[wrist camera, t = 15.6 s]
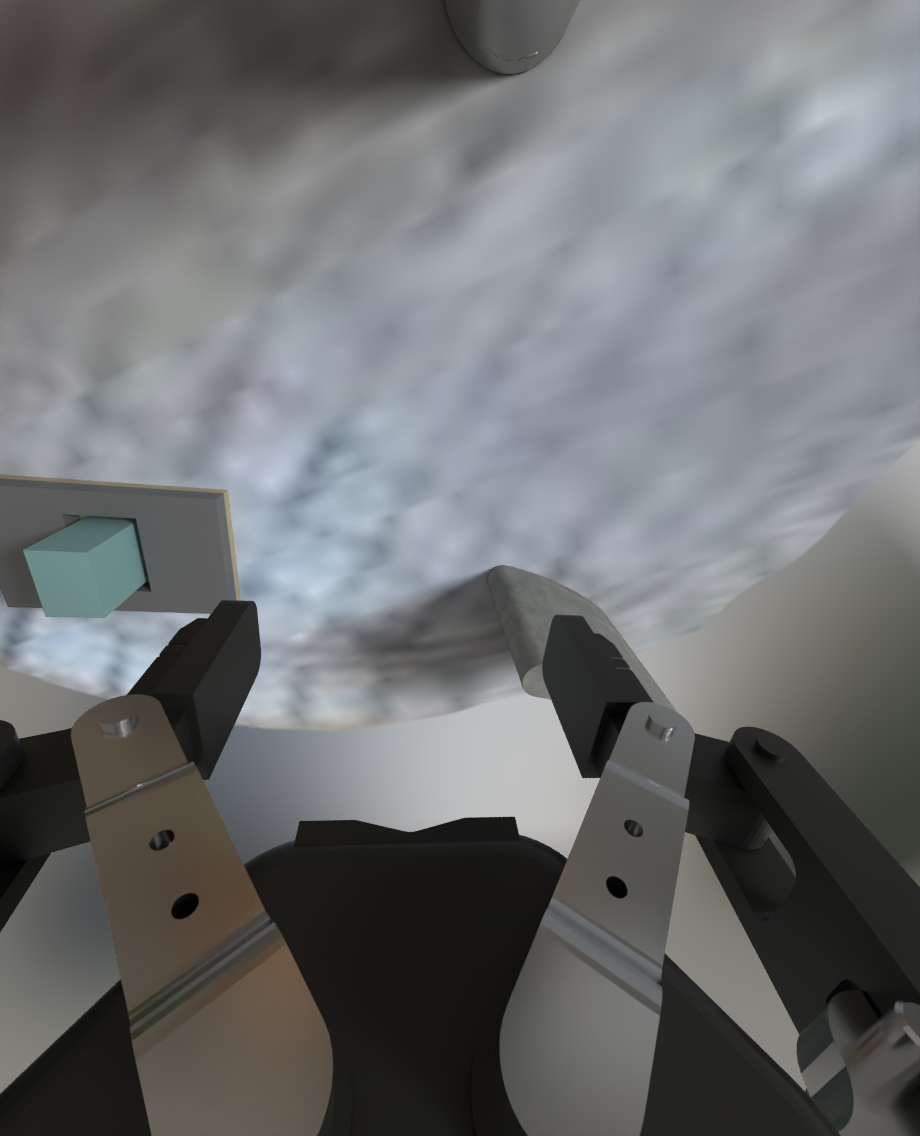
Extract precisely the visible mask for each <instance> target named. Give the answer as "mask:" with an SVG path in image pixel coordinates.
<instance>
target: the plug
mask: <svg viewBox="0 0 920 1136" xmlns="http://www.w3.org/2000/svg"><path fill="white" fill-rule="evenodd" d="M23 552H24V555H25V557H26V560H27V563H28V566H29V569H30V572H31V575H32V578H33V581H34V584H35V587H36V589H37V592H38V595H39V598H40V601H41V604H42V607H43V610H44V613H45V616H46V617H85V618H106V617H107V616H108V615H109V614H110V613H111V612H112V611H114V610H115V609H116V608H117V607H118V606H119V605H120V604H121V603H123V602H124V601H125V600H126V599H127V598H128V597H129V596H130V595H132V594H133V593H134V592H135V591H136V590H137V589H138V588H139V587H141V586H142V585H143V584H144V583H145V582H146V581H147V580H148V579H149V578H148V573H147V569H146V564H145V559H144V554H143V550H142V545H141V540H140V535H139V531H138V526H137V521H136V518H119V517H103V516H87V517H85V518H83V519H81V520H79V521H77V522H76V523H74V524H72V525H70V526H68V527H66V528H64V529H62V530H60V531H58V532H56V533H55V534H53V535H51V536H49V537H47V538H45V539H43V540H41V541H39V542H37V543H36V544H34V545H32V546H30V547H28V548H26V549H24V550H23Z"/></svg>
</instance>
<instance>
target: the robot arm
mask: <svg viewBox="0 0 920 1136" xmlns="http://www.w3.org/2000/svg"><path fill="white" fill-rule="evenodd" d="M444 1H445V5H446V9H447V14H448V17H449V20H450V22H451V25H452V27H453V30H454V32H455V34H456V36H457V38H458V39H459V41H460V42H461V44H462V46H463V47H464V49H465V50H466V51H467V52H468V53H469V54H470V55H471V56H472V58H473V59H474V60H475V61H477V62H478V63H480V64H481V65H483V66H484V67H486V68H487V69H489V70H492V71H495V72H498V73H503V74H516V73H520V72H524V71H528V70H529V69H531V68H533V67H535V66H536V65H538V64H540V63H541V62H542V61H543V60H544V59H545V58H546V57H547V56H548V55H549V54H551V52H552V51H553V49H554V48H555V47H556V45H557V44H558V42H559V41H560V40H561V37H562V35H563V33H564V31H565V29H566V27H567V25H568V23H569V21H570V19H571V17H572V15H573V13H574V11H575V9H576V7H577V5H578V3H579V2H580V0H444ZM260 661H261V646H260V636H259V625H258V615H257V607H256V604H255V602H254V601H239V600H222V601H220V603H219V604H218V605H217V607H216V608H215V609H214V611H213V612H212V613H211V615H210V616H209V617H208V619H206V618H197V619H196V620H194V621H193V622H191V623H189V624H188V625H186V626H184V627H183V628H181V629H180V630H179V631H178V632H177V633H176V635H175V636H174V637H173V638H172V639H171V641H170V642H169V645H168V646H166V647H165V648H164V649H163V651H162V652H161V653H160V656H159V657H157V658H156V659H155V660H154V662H153V663H152V664H151V665H150V667H149V668H148V669H147V670H146V672H145V673H144V674H143V675H142V677H141V678H140V679H139V680H138V682H137V683H136V684H135V685H134V686H133V688H132V689H131V690H130V691H129V693H128V694H127V695H125V696H120V697H116V698H112V699H110V700H107V701H104V702H102V703H100V704H98V705H96V706H95V707H93V708H91V709H89V710H88V711H86V712H85V713H84V714H83V715H82V716H80V717H79V718H78V720H77V721H76V722H75V723H74V725H73V727H72V728H70V729H66V730H61V731H56V732H51V733H47V734H41V735H36V736H31V737H26V738H21V739H19V738H18V736H17V733H16V731H15V728H14V727H13V725H11V724H10V723H8V722H6V721H2V720H0V932H1V930H2V929H3V927H4V926H5V924H6V923H7V921H8V919H9V918H10V916H11V915H12V913H13V912H14V910H15V909H16V907H17V905H18V904H19V902H20V901H21V899H22V898H23V896H24V894H25V893H26V891H27V890H28V888H29V887H30V885H31V883H32V882H33V880H34V879H35V877H36V876H37V874H38V873H39V871H40V869H41V868H42V866H43V865H44V863H45V862H46V860H47V858H48V857H49V855H50V854H51V852H55V851H58V850H62V849H65V848H69V847H72V846H76V845H79V844H83V843H86V842H89V841H91V845H92V849H93V854H94V859H95V863H96V868H97V873H98V876H99V882H100V886H101V891H102V895H103V900H104V904H105V909H106V914H107V918H108V923H109V927H110V932H111V936H112V941H113V945H114V950H115V954H116V959H117V964H118V968H119V973H120V977H121V979H120V980H119V981H118V982H117V983H116V984H115V985H114V986H113V987H112V988H111V989H110V990H109V991H108V992H107V993H105V995H103V996H102V998H100V999H99V1000H98V1001H97V1002H96V1003H95V1004H94V1005H93V1006H92V1007H91V1008H90V1009H89V1010H88V1011H87V1012H86V1013H84V1014H83V1015H82V1016H81V1017H80V1018H79V1019H78V1020H77V1021H76V1022H75V1023H74V1024H73V1025H72V1026H71V1027H70V1028H69V1029H68V1030H67V1031H66V1032H65V1033H64V1034H62V1035H61V1036H60V1037H59V1038H58V1039H57V1040H56V1041H55V1042H54V1043H53V1044H52V1045H51V1046H50V1047H49V1048H48V1049H47V1050H46V1051H45V1052H44V1053H42V1054H41V1055H40V1056H39V1057H38V1058H37V1059H36V1060H35V1061H34V1062H33V1063H32V1064H31V1065H30V1066H29V1067H28V1068H27V1069H26V1070H25V1071H24V1072H23V1073H21V1075H19V1076H18V1077H17V1078H16V1079H15V1080H14V1081H13V1082H12V1083H11V1084H10V1085H9V1086H8V1087H7V1088H6V1089H5V1090H4V1091H3V1092H2V1093H1V1094H0V1136H920V887H919V886H918V885H917V884H916V883H915V881H914V880H913V879H912V878H911V877H910V876H909V875H908V874H907V872H906V871H905V870H904V869H903V868H902V867H901V866H900V865H899V863H898V862H897V861H896V860H895V859H894V858H893V857H892V856H891V854H890V853H889V852H888V851H887V850H886V849H885V848H884V847H883V845H882V844H881V843H880V842H879V841H878V840H877V839H876V838H875V836H874V835H873V834H872V833H871V832H870V831H869V830H868V829H867V827H866V826H865V825H864V824H863V823H862V822H861V821H860V820H859V818H858V817H857V816H856V815H855V814H854V813H853V812H852V811H851V809H850V808H849V807H848V806H847V805H846V804H845V803H844V802H843V800H841V798H840V797H839V796H838V795H837V794H836V793H835V791H834V790H833V789H832V788H831V787H830V786H829V785H828V784H827V782H826V781H825V780H824V779H823V778H822V777H821V776H820V775H819V773H818V772H817V771H816V770H815V769H814V768H813V767H812V766H811V764H810V763H809V762H808V761H807V760H806V759H805V758H804V757H803V755H802V754H801V753H800V752H799V751H798V750H797V749H796V748H795V747H793V746H792V745H791V744H790V743H788V742H787V741H786V740H784V739H783V738H781V737H779V736H777V735H775V734H773V733H771V732H769V731H766V730H763V729H759V728H755V727H742V728H739V729H737V730H736V731H735V733H734V735H733V736H732V739H731V740H730V742H727V741H723V740H719V739H714V738H711V737H707V736H703V735H699V734H696V733H694V731H693V728H692V727H691V726H690V724H689V722H688V721H687V720H686V719H685V718H684V717H682V716H681V715H680V714H679V713H677V712H676V711H674V710H672V709H670V708H668V707H666V706H663V705H661V704H657V703H654V702H653V700H652V699H651V698H650V696H649V695H648V693H647V692H646V690H645V689H644V687H643V686H642V684H641V683H640V681H639V680H638V678H637V677H636V676H635V674H634V673H633V671H632V670H630V667H629V665H628V664H627V662H626V661H625V660H623V656H622V655H621V654H620V652H619V651H618V649H617V648H616V646H615V645H614V644H613V643H612V642H610V641H609V640H608V639H606V638H605V637H604V636H603V635H601V634H597V633H594V632H593V631H592V629H591V628H590V626H589V625H588V623H587V621H586V620H585V618H584V617H583V616H581V615H555V616H554V617H553V619H552V622H551V626H550V631H549V635H548V639H547V644H546V648H545V653H544V657H543V663H542V673H543V679H544V683H545V685H546V688H547V690H548V693H549V695H550V698H551V700H552V702H553V705H554V708H555V710H556V713H557V715H558V717H559V720H560V722H561V725H562V727H563V730H564V733H565V735H566V737H567V740H568V743H569V745H570V748H571V750H572V753H573V755H574V758H575V760H576V763H577V765H578V768H579V770H580V773H581V775H582V778H600V780H599V783H598V786H597V788H596V790H595V793H594V795H593V798H592V800H591V803H590V805H589V808H588V810H587V813H586V815H585V818H584V820H583V822H582V825H581V828H580V830H579V832H578V835H577V837H576V840H575V842H574V845H573V847H572V850H571V852H570V854H569V857H568V859H567V858H565V857H564V856H563V855H561V854H560V853H559V852H557V851H555V850H554V849H552V848H551V847H549V846H547V845H545V844H543V843H541V842H539V841H537V840H534V839H531V838H528V837H526V836H521V835H519V833H518V829H517V824H516V820H515V817H482V818H481V817H480V818H462V819H459V820H455V821H451V822H448V823H444V824H441V825H437V826H434V827H430V828H427V829H423V830H419V831H415V832H405V831H400V830H396V829H392V828H387V827H383V826H378V825H374V824H370V823H366V822H361V821H357V820H337V821H336V820H334V821H300V822H299V827H298V831H297V835H296V839H295V840H294V841H291V842H287V843H284V844H282V845H279V846H277V847H274V848H272V849H270V850H268V851H266V852H264V853H262V854H260V855H258V856H256V857H255V858H253V859H252V860H250V861H249V862H247V863H246V864H244V865H243V863H242V860H241V858H240V856H239V854H238V852H237V850H236V848H235V846H234V844H233V842H232V840H231V837H230V835H229V834H228V832H227V829H226V827H225V825H224V823H223V821H222V819H221V817H220V814H219V812H218V810H217V808H216V806H215V804H214V802H213V800H212V798H211V796H210V793H209V791H208V790H207V787H206V785H205V783H204V781H203V780H209V778H210V776H211V774H212V772H213V769H214V767H215V765H216V763H217V761H218V759H219V757H220V754H221V752H222V750H223V748H224V746H225V743H226V741H227V739H228V737H229V735H230V733H231V730H232V729H233V726H234V724H235V722H236V720H237V718H238V716H239V713H240V711H241V709H242V707H243V705H244V703H245V700H246V698H247V696H248V694H249V692H250V690H251V687H252V685H253V683H254V681H255V679H256V677H257V674H258V671H259V667H260ZM772 830H773V831H774V832H775V834H776V835H777V837H778V838H779V840H780V841H781V843H782V844H783V845H784V847H785V848H786V850H787V851H788V853H789V854H790V856H791V858H792V860H793V863H794V865H795V869H796V877H795V876H794V874H793V873H792V871H791V870H790V868H789V867H788V865H787V864H786V862H785V861H784V859H783V858H782V856H781V855H780V853H779V852H778V850H777V849H776V847H775V846H774V844H773V843H772V841H771V840H770V838H769V835H770V834H771V832H772ZM685 832H687V833H690V834H693V835H695V836H696V838H697V840H698V841H699V843H700V845H701V847H702V849H703V851H704V853H705V855H706V857H707V859H708V861H709V863H710V864H711V866H712V868H713V870H714V872H715V874H716V876H717V878H718V880H719V881H720V883H721V885H722V887H723V889H724V891H725V893H726V895H727V897H728V899H729V901H730V903H731V904H732V907H733V908H734V910H735V912H736V914H737V916H738V918H739V920H740V922H741V924H742V926H743V927H744V929H745V931H746V933H747V935H748V937H749V939H750V941H751V943H752V945H753V947H754V949H755V950H756V952H757V954H758V956H759V958H760V960H761V962H762V964H763V966H764V968H765V969H766V972H767V974H768V975H769V977H770V979H771V981H772V983H773V985H774V987H775V989H776V991H777V993H778V995H779V996H780V998H781V1000H782V1002H783V1004H784V1006H785V1008H786V1010H787V1012H788V1014H789V1016H790V1018H791V1019H792V1021H793V1023H794V1025H795V1027H796V1029H797V1031H798V1033H799V1037H798V1040H797V1059H798V1064H799V1068H800V1072H801V1074H802V1077H803V1080H804V1082H805V1085H806V1087H807V1088H806V1091H804V1090H803V1089H802V1088H801V1087H800V1086H799V1085H798V1084H797V1083H796V1082H795V1081H794V1080H793V1079H792V1078H791V1077H790V1076H789V1075H788V1074H787V1073H786V1072H785V1071H784V1070H783V1069H782V1068H781V1067H780V1066H779V1065H778V1064H777V1063H776V1062H775V1061H774V1060H773V1059H772V1058H771V1057H770V1056H769V1055H768V1054H767V1053H766V1052H765V1051H764V1050H763V1049H762V1048H761V1047H760V1046H759V1045H758V1044H757V1043H756V1042H755V1041H753V1040H752V1039H751V1038H750V1037H749V1036H748V1035H747V1034H746V1033H745V1032H744V1031H743V1030H742V1029H741V1028H740V1027H739V1026H738V1025H737V1024H736V1023H735V1022H734V1021H733V1020H732V1019H731V1018H730V1017H729V1016H728V1015H727V1014H726V1013H725V1012H724V1011H723V1010H722V1009H721V1008H720V1007H719V1006H718V1005H717V1004H716V1003H715V1002H714V1001H713V1000H712V999H711V998H710V997H708V995H707V994H706V993H704V991H703V990H702V989H701V988H699V986H698V985H697V984H696V983H694V982H693V981H692V980H691V979H690V978H689V977H688V976H687V975H686V974H685V973H684V972H683V971H682V970H681V969H680V968H679V967H678V966H677V965H676V964H675V963H674V962H673V961H672V960H671V959H670V958H669V957H668V956H667V955H666V954H665V948H666V942H667V936H668V930H669V924H670V918H671V912H672V906H673V900H674V894H675V888H676V882H677V876H678V870H679V864H680V858H681V852H682V846H683V840H684V834H685Z"/></svg>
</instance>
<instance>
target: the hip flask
mask: <svg viewBox="0 0 920 1136" xmlns="http://www.w3.org/2000/svg"><path fill="white" fill-rule="evenodd" d="M487 581H488V585H489V588H490V591H491V594H492V597H493V600H494V603H495V606H496V609H497V612H498V615H499V618H500V621H501V624H502V627H503V630H504V633H505V636H506V639H507V642H508V645H509V648H510V651H511V654H512V657H513V660H514V663H515V666H516V669H517V672H518V675H519V678H520V681H521V684H522V687H523V689H524V690H525V692H526V693H528V694H529V695H531V696H535V697H541V698H547V699H551V698H550V695H549V693H548V690H547V688H546V685H545V683H544V679H543V673H542V663H543V657H544V653H545V648H546V644H547V639H548V635H549V631H550V626H551V622H552V619H553V617H554V616H555V615H581V616H583V617H584V618H585V620H586V621H587V623H588V625H589V626H590V628H591V629H592V631H593V632H594V633H597V634H601V635H603V636H604V637H605V638H606V639H608V640H609V641H610V642H612V643H613V644H614V645H615V646H616V648H617V649H618V651H619V652H620V654H621V655H622V656H623V660H625V661H626V662H627V664H628V665H629V667H630V670H632V671H633V673H634V674H635V676H636V677H637V678H638V680H639V681H640V683H641V684H642V686H643V687H644V689H645V690H646V692H647V693H648V695H649V696H650V698H651V699H652V700H653V702H654V703H657V704H661V705H663V706H666V707H668V708H670V709H672V710H674V711H676V709H675V708H674V707H673V705H672V704H671V703H670V701H669V700H668V699H667V697H666V696H665V694H664V693H663V692H662V691H661V689H660V688H659V686H658V685H657V684H656V682H655V681H654V680H653V678H652V677H651V675H650V674H649V673H648V671H647V670H646V669H645V667H644V666H643V665H642V663H641V662H640V661H639V659H638V658H637V656H636V655H635V654H634V652H633V651H632V650H631V648H630V647H629V645H628V644H627V643H626V641H625V640H624V639H623V637H622V636H621V635H620V633H619V632H618V631H617V629H616V628H615V626H614V625H613V624H612V622H611V621H610V620H609V618H608V617H607V616H606V614H605V613H604V612H603V610H601V609H600V608H599V607H598V606H596V605H595V604H594V603H592V602H591V601H589V600H588V599H586V598H585V597H583V596H582V595H580V594H578V593H576V592H575V591H573V590H571V589H569V588H567V587H565V586H563V585H561V584H559V583H557V582H554V581H552V580H550V579H547V578H545V577H542V576H540V575H537V574H534V573H531V572H528V571H525V570H521V569H518V568H514V567H509V566H504V565H500V566H497V567H495V568H493V569H492V570H491V571H490V572H489V574H488V577H487ZM676 712H677V711H676ZM677 713H678V712H677Z"/></svg>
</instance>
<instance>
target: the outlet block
mask: <svg viewBox="0 0 920 1136" xmlns="http://www.w3.org/2000/svg"><path fill="white" fill-rule="evenodd" d="M87 516H103V517H119V518H136V521H137V526H138V531H139V535H140V540H141V545H142V550H143V554H144V559H145V564H146V569H147V573H148V578H149V579H148V580H147V581H146V582H145V583H144V584H143V585H142V586H141V587H139V588H138V589H137V590H136V591H135V592H134V593H133V594H132V595H130V596H129V597H128V598H127V599H126V600H125V601H124V602H123V603H121V604H120V605H119V606H118V607H117V608H116V609H115V610H118V611H147V612H177V613H206V614H211V613H212V612H213V611H214V609H215V608H216V607H217V605H218V604H219V603H220V601H222V600H239V601H240V593H239V584H238V576H237V567H236V558H235V550H234V541H233V533H232V524H231V516H230V507H229V499H228V490H215V489H200V488H186V487H171V486H157V485H142V484H127V483H113V482H98V481H84V480H69V479H54V478H40V477H25V476H11V475H0V587H1V590H2V592H3V595H4V598H5V600H6V603H7V606H8V607H30V608H43V607H42V604H41V601H40V598H39V595H38V592H37V589H36V587H35V584H34V581H33V578H32V575H31V572H30V569H29V566H28V563H27V560H26V557H25V555H24V552H23V550H24V549H26V548H28V547H30V546H32V545H34V544H36V543H37V542H39V541H41V540H43V539H45V538H47V537H49V536H51V535H53V534H55V533H56V532H58V531H60V530H62V529H64V528H66V527H68V526H70V525H72V524H74V523H76V522H77V521H79V520H81V519H83V518H85V517H87Z"/></svg>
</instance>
